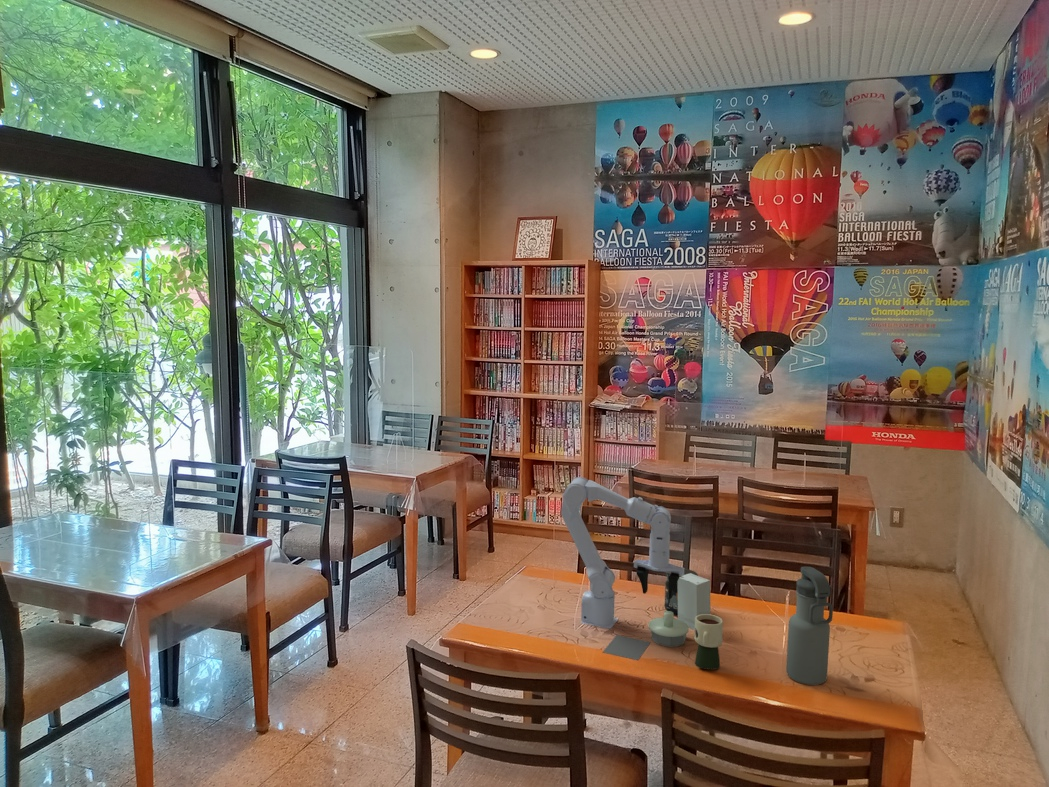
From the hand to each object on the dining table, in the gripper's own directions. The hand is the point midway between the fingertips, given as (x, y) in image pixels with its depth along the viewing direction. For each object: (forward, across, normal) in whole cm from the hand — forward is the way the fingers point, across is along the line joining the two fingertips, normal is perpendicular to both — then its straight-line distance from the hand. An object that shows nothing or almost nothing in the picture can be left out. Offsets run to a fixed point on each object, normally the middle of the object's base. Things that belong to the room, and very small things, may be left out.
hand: (657, 594), depth 213 cm
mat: (+10, -3, -17) cm, 20 cm away
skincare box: (+10, +9, +7) cm, 15 cm away
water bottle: (+10, +42, -10) cm, 45 cm away
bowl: (+10, +5, -6) cm, 13 cm away
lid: (+6, +5, -7) cm, 11 cm away
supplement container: (+10, +3, +17) cm, 20 cm away
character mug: (+10, +18, -16) cm, 27 cm away
